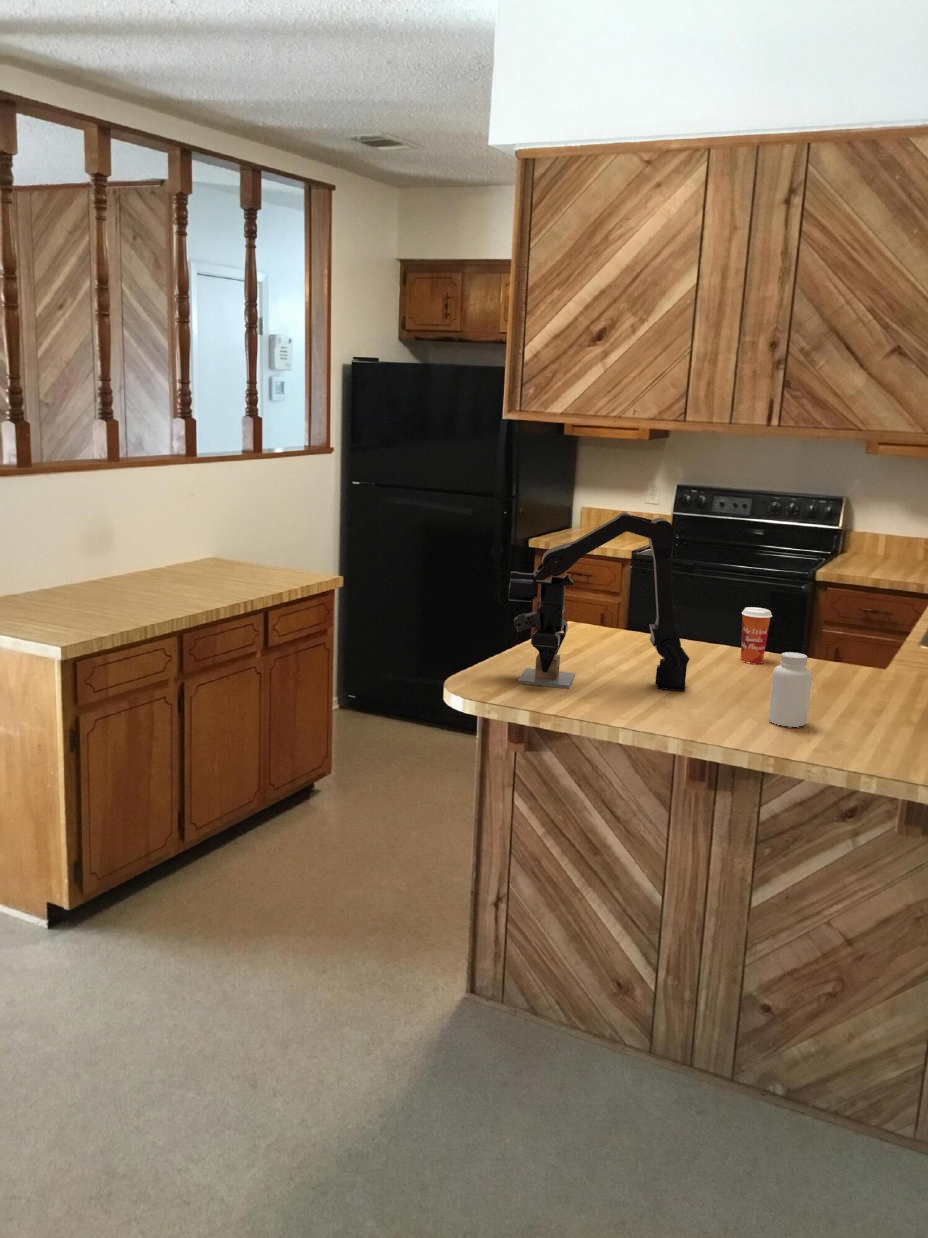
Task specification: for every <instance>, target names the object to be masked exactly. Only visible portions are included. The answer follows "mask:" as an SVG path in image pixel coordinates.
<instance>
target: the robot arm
mask: <svg viewBox="0 0 928 1238" xmlns="http://www.w3.org/2000/svg"><path fill="white" fill-rule="evenodd" d="M624 533H630V534H634V535H636V536H637V535H638V536H640V537H643V538H647V539H648V544H649V547H650V551H651V554H652V558H653V568H654V569H653V573H654V575H653V576H654V588H655V589H654V591H655V605H656V606H655V608H656V609H655V610H656V617H655V622H654V624H652V623H649V624H648V626H649V631H650V637H649V641H650V643H651V644H652V646H653V647H654V648H655V650H656V652H657V653H658V655H659V656H661V658H660V660H659V664H657V665H656V671H655V672H656V674H655V685H657V686H656V689H659V690H670V691H677V692H679V691H680V692H686V678H687V670H688V669H687V666H688V664H689V662H690V657H689V656H688V654H687V653H686V651H685V649H684V648H683V647H682V642H681V639H680V635H679V630H678V627H677V624H676V620H675V615H674V614H675V613H674V612H675V611H674V595H673V594H674V593H673V590H674V589H673V577H672V573H673V571H672V557H673V551H674V547H675V539H676V529H675V526H674V525H673V524H672V523H670V521H668V520H667V519H665V518H663V517H655V518H653V519H650V518H647V517H643V516H637V515H633V514H630V513H628V512H620V513H619V514H618V515H617V516H616V517H613V518H612V519H611V520H609V521H607V522H605V523H603V524H602V525H599V526H598V527H597V528H595V529H593V530H591V531H590V532H588V533H586V534H584V535H583V536H582V535H581V536H580V537H579V538H577V539H575V540H574V541H570V542H567V543H564V544H560V545H557V546H554V547H552V548H549V549H547V550H546V551H545V552H544V553H543V555H542V559H541V563H540V564H539V565H538V567H537V568H535V569H534V571H533V572H531V573H530V572H529V573H528V572H520V571H510V582H509V588H508V601H511V602H525V603H526V602H528V603H531V602H533V600H535V599H538V595H540V596H539V606H538V607H537V609H536V611H532V612H529V613H528V612H527V613H522V614H518V615H517V616H515V617H514V619H513V621H514V624H513V625H514V627H515V628H516V631H517V632H518V633H522V632H523V631H526V630H530V629H533V628H535V632H534V633H532V635H531V639H530V644H531V645H532V647H533V648H535V649H536V650H537V652H538V654H539V655H540V660H541V666H542V671H543V672H548V670H549V667H550V665H551V663H552V661H553V658H554V656H555V654H558V653H559V650H560V648H561V646H562V644H563V642H564V639H565V638H566V636H567V632H568V625H569V624H568V622H567V621H566V619H564V612H565V611H566V606H565V597H566V596H565V595H566V586H568V587H569V586H571V587H573V586H574V584H575V583H574V581H573V579H571V578H570V576H569V574H568V573H565V572H567V571H568V570H570V569H571V567H573V566H574V565H575V564H576V563H578V561H579V560H580V559H581V558H582V557H583V556H587V554H589V553H591V552H593V551H594V550H596V549H598V548H600V547H601V546H603V545H605V544H606V543H608V542H610V541H612V540H614V539H616V538H618V537H619V536H621V535H623V534H624ZM564 573H565V575H564V576H562V575H563V574H564ZM549 577H550V579H548V578H549ZM539 585H540V594H539V593H538V590H539Z"/></svg>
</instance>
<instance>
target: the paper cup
mask: <svg viewBox="0 0 928 1238" xmlns="http://www.w3.org/2000/svg"><path fill="white" fill-rule="evenodd" d="M741 614H742V620H741V621H742V623H741V643H740V644H741V645H740V647H741V648H740V661H741V660H742V661H745V662H750V663H761V662H762V663H763V662H764V656H765V652H766V647H767V640H768V633H769V628H770V623H771V622H770V621H771V618H772V617H773V615H772V612H771V610H769V609H767V608H762V607H755V606H753V607H752V606H751V607H749V606H748V607H747V606H746V607H744V609H743V610H742V612H741ZM742 661H741V662H742Z"/></svg>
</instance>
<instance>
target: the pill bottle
mask: <svg viewBox="0 0 928 1238" xmlns="http://www.w3.org/2000/svg"><path fill="white" fill-rule="evenodd" d="M779 662H780V664H779V665H777V666H775V667H774V668H773V671H772V678H771V690H770V698H769V709H768V721H769V722H770V723H771V722H772V724H773V723H775V724H774V725H776V724H777V725H776V726H779V725H783V726H788V727H787V728H792V727H797V728H799V727H798V726H803V725H805V724H806V725H807V723H808V718H809V707H810V699H811V689H812V688H811V687H812V679H813V677H812V676H813V675H812V672H811V670H810V669H809V668H808V667H807V665H808V656H807V655H806V654H804V653H800V652H791V651H788V652H787V651H786V652H782V653H781V656H780V661H779ZM806 725H805V726H806ZM783 726H782V727H783ZM803 727H804V726H803Z"/></svg>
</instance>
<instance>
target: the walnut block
mask: <svg viewBox="0 0 928 1238" xmlns="http://www.w3.org/2000/svg"><path fill="white" fill-rule="evenodd" d="M560 662H561V654H558V653H557V654H555V656H554V658H553V661H552V663H551V665H550V667H549V670H548V672H543V671H542V666H541V660H540V655H539V653H538V654H537V656H536V657H535V668H534V669H535V678H540V679H549V680H556V679H557V677H558V676H559V671H560V666H561V664H560Z"/></svg>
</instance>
